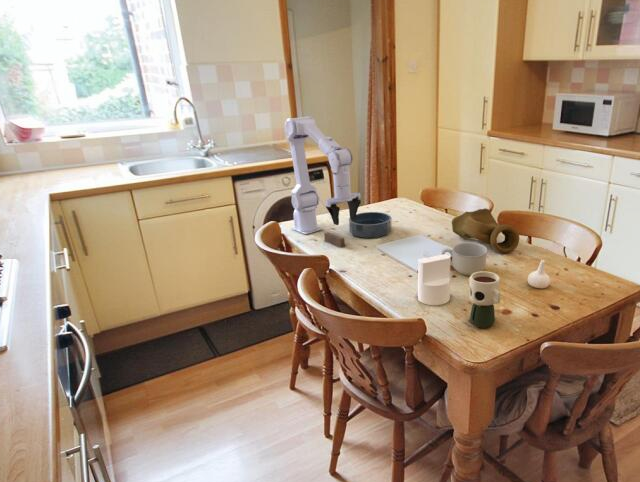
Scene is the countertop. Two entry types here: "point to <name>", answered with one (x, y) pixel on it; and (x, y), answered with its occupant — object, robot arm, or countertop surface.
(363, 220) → the bowl
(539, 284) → the garlic bulb
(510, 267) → the countertop surface
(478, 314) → the character mug
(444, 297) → the cylinder with rectangular tab
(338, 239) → the brown rectangular block
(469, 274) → the teacup
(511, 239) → the brown looped sculpture
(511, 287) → the countertop surface
